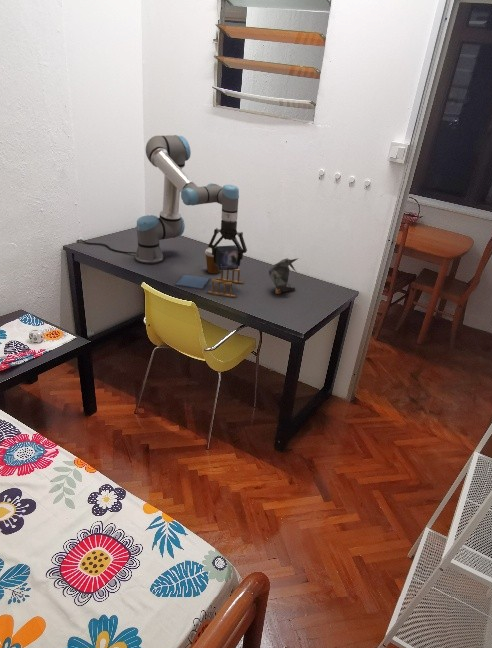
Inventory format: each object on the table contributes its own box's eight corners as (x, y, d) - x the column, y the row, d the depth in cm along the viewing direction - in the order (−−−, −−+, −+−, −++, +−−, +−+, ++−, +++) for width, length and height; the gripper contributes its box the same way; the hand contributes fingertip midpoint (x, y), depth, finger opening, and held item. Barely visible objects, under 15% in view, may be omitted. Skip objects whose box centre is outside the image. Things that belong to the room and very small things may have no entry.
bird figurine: (262, 286, 242) (265, 254, 232) (288, 284, 248) (292, 252, 238) (273, 298, 231) (276, 264, 222) (299, 295, 237) (304, 262, 227)
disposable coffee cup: (218, 275, 248) (219, 254, 241) (202, 272, 249) (202, 251, 243) (223, 269, 256) (224, 249, 249) (207, 266, 257) (208, 246, 250)
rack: (207, 293, 229) (208, 279, 224) (217, 279, 244) (218, 265, 240) (235, 297, 227) (235, 283, 223) (243, 283, 243) (243, 269, 239)
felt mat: (175, 285, 233) (175, 284, 233) (184, 275, 244) (184, 274, 244) (202, 289, 232) (202, 288, 232) (209, 279, 243) (209, 278, 243)
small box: (219, 271, 225) (220, 250, 220) (214, 266, 230) (215, 246, 224) (238, 269, 230) (240, 249, 224) (233, 264, 235) (234, 244, 229)
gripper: (202, 218, 214) (201, 262, 226) (252, 226, 213) (248, 269, 225) (206, 214, 220) (205, 257, 233) (255, 221, 219) (251, 264, 231)
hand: (226, 263), depth 229 cm, fingers closed on small box, 12 cm apart
